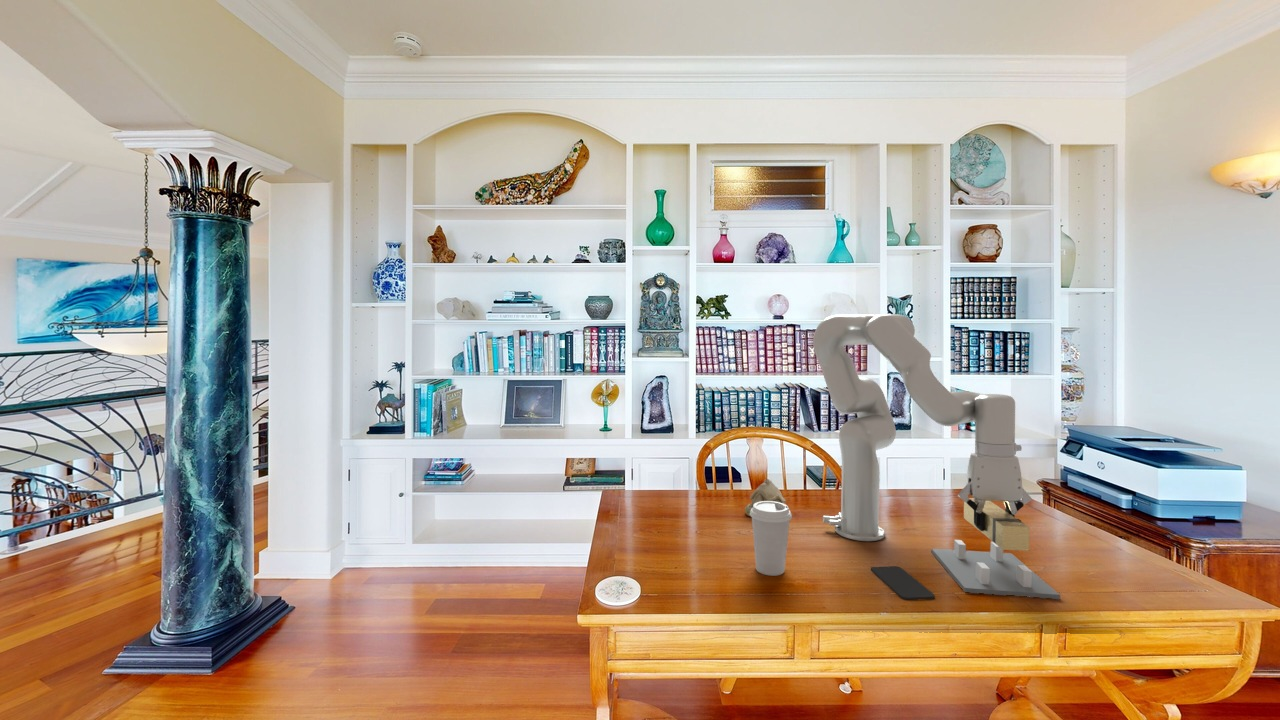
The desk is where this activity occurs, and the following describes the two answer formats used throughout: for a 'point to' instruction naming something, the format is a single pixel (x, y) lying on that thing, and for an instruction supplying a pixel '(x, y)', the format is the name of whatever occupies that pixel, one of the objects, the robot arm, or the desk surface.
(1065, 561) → the desk surface
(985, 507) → the tan long bar
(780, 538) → the coffee cup
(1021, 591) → the peg plate
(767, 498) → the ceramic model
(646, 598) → the desk surface
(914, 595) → the phone
